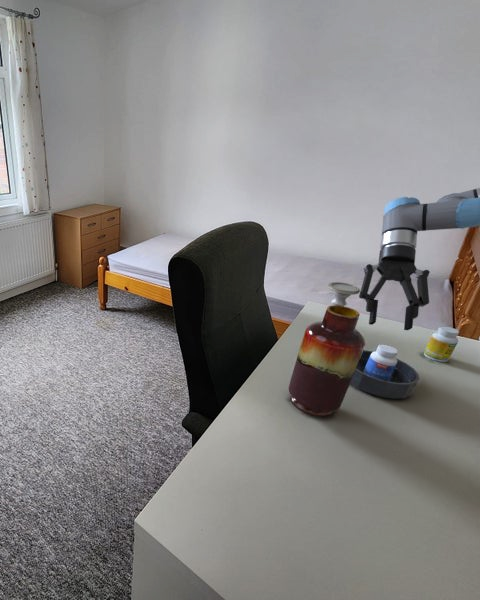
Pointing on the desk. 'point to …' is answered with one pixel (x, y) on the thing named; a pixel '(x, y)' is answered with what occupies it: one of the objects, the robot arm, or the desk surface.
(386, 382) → the pan
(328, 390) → the vase
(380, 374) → the pill bottle
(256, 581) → the desk surface
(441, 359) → the supplement bottle
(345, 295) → the candle holder
